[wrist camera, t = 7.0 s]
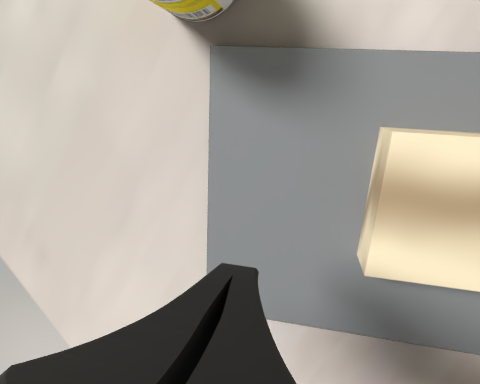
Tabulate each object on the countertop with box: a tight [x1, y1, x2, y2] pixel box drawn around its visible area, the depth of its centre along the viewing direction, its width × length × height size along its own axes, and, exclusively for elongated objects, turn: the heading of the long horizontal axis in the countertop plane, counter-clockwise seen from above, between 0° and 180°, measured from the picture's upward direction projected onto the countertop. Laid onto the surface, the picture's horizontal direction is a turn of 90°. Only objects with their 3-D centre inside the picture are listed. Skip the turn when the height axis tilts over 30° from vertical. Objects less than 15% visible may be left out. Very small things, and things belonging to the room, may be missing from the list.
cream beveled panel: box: [357, 127, 480, 292], centre depth 17 cm, size 8×8×2 cm
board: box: [207, 46, 480, 355], centre depth 19 cm, size 18×21×1 cm
